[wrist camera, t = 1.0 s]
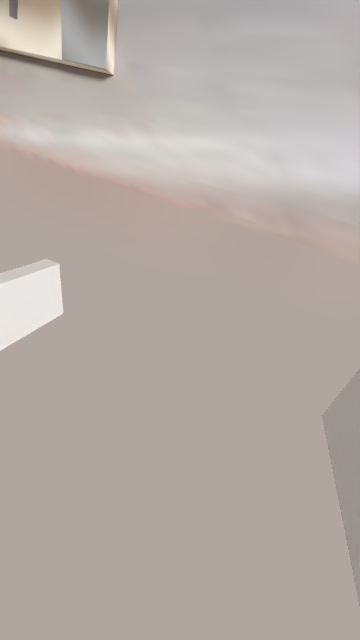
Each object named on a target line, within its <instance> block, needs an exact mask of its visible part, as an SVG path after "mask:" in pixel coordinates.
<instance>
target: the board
mask: <svg viewBox="0 0 360 640" xmlns="http://www.w3.org/2000/svg"><path fill="white" fill-rule="evenodd" d="M117 13H118V0H0V50H2V51H6V52H11V53H16V54H20V55H25V56H29V57H34V58H38V59H43V60H47V61H52V62H57V63H61V64H66V65H70V66H75V67H79V68H84V69H89V70H93V71H98V72H102V73H107V74H111V75H114V60H115V44H116V29H117Z"/></svg>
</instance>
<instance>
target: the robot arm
mask: <svg viewBox="0 0 360 640" xmlns="http://www.w3.org/2000/svg"><path fill="white" fill-rule="evenodd" d="M62 304H63V303H62V291H61V279H60V268H59V263H56V262H53V261H50V260H47V259H44V260H41V261H38V262H34V263H31V264H28V265H25V266H21V267H18V268H15V269H12V270H8V271H5V272H2V273H0V350H2V349H4V348H5V347H7V346H9V345H11V344H12V343H14V342H16V341H17V340H19V339H21V338H23V337H24V336H26V335H28V334H29V333H31V332H33V331H34V330H36V329H37V328H39V327H41V326H43V325H45V324H46V323H48V322H50V321H51V320H53V319H55V318H57V317H58V316H60V315H62V314H63V305H62ZM322 418H323V423H324V428H325V434H326V439H327V443H328V449H329V454H330V458H331V464H332V469H333V474H334V479H335V484H336V489H337V494H338V499H339V504H340V509H341V514H342V519H343V524H344V529H345V535H346V540H347V545H348V549H349V555H350V560H351V565H352V570H353V575H354V580H355V585H356V590H357V595H358V599H359V605H360V369H359V371H358V372H357V373H356V374H355V375H354V377H353V378H352V379H351V380H350V382H349V383H348V384H347V385H346V386H345V388H344V389H343V390H342V391H341V393H340V394H339V395H338V396H337V397H336V399H335V400H334V401H333V402H332V404H331V405H330V406H329V407H328V409H327V410H326V411H325V412H324V413H323V415H322Z"/></svg>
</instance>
